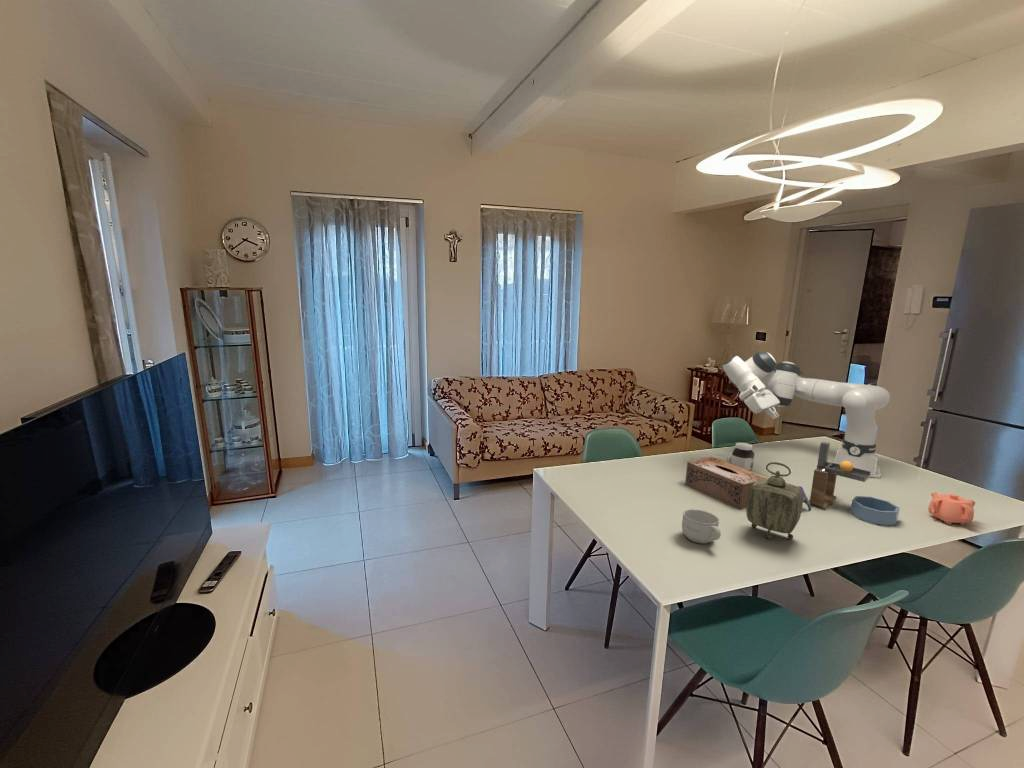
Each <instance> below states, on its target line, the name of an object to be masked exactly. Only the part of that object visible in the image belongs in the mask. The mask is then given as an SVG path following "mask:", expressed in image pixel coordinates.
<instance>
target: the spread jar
mask: <svg viewBox="0 0 1024 768" xmlns="http://www.w3.org/2000/svg"><path fill="white" fill-rule="evenodd" d="M753 447H754V446H753V445H752V444H750V443H746V442H736V443H735V447H734V449H732V452H731V453H729V454H728V457H727V462H728V463H730V464H733V465H735V466H738V467H741V468H743V469H746V470H749V471H752V470H753V467H754V462H755V452H754V450H753Z"/></svg>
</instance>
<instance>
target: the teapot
mask: <svg viewBox="0 0 1024 768" xmlns="http://www.w3.org/2000/svg"><path fill="white" fill-rule="evenodd" d="M930 495H931V497H932V499H931V500H930V502H929V505H928V508H927V509H928V513H929V514H931V515H932V518H935V519H938V518H939V520H942V521H944V524H945V523H946V525H948V524H953V523H955V524H958V523H960V524H959V525H961V524H962V525H961V526H966V525H965V524H969V523H972V521H973V520H974V517H975V509H974V508H975V507H974V506H975V505H976V501H974V500H972V499H966V498H964V497H961V496H959V495H958V494H955V493H949V494H948V493H946V494H944V493H941V494H939V493H938V492H931V493H930Z"/></svg>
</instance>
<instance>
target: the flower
mask: <svg viewBox="0 0 1024 768" xmlns="http://www.w3.org/2000/svg"><path fill="white" fill-rule="evenodd" d="M796 486H797V487H798V488H800V489H801V491H802V496H803V504H805V505H806V504H807V505H806V506H807V509H808V511H811V510H812V506H811V505H810V503H809V501H808V500H809V499H808V497H807V494H806V492H805V490H804V489H803V486H798V485H796Z"/></svg>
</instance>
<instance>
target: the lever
mask: <svg viewBox="0 0 1024 768" xmlns="http://www.w3.org/2000/svg"><path fill="white" fill-rule="evenodd" d="M830 446H831V443H830V442H825V441H821V442H820V443H819V451H818V457H817V458H818V459H817V465H816V469H817V470H821V471H825V472H828V473H830V474H834V475H837V477H838V476H839V477H841V478H842V477H843V478H847V479H851V480H854V481H859V482H863V483H865V482H866V481H867V480H869V478H870V477H869V476H870V473H871V471H866V470H862V469H858V468H853V470H852V471H850V472H844V471H842V470H841V469H840V464H836V463H834V462H831V463H830V464H829V465H828V466H827V462H828V459H829V453H830Z"/></svg>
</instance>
